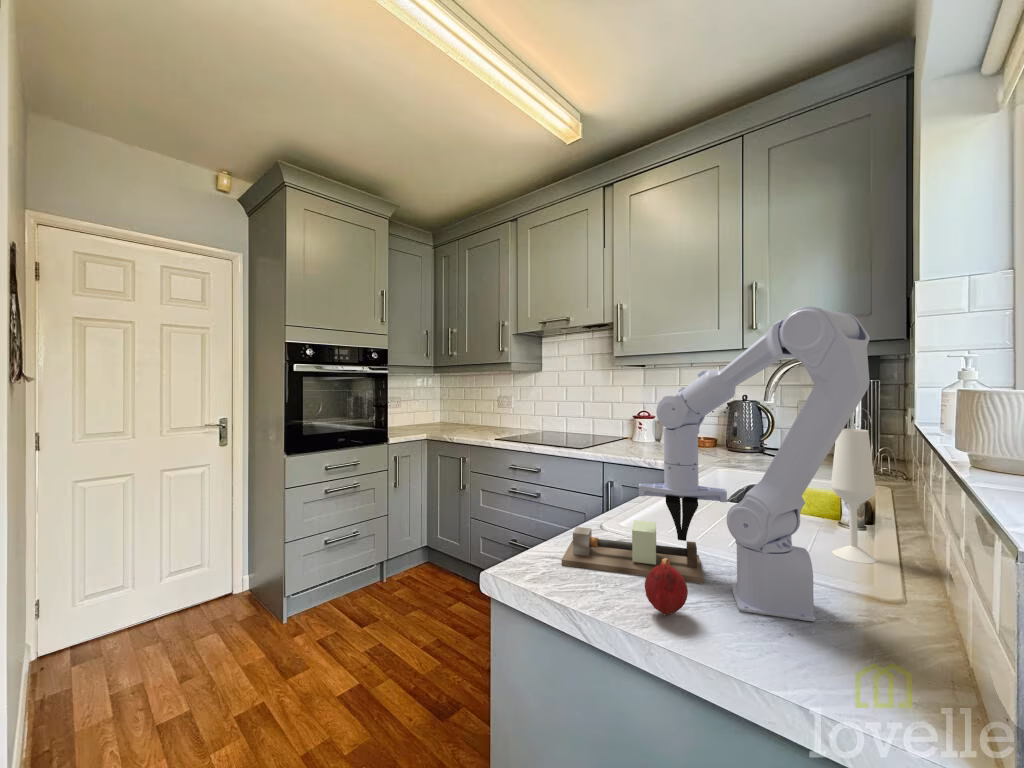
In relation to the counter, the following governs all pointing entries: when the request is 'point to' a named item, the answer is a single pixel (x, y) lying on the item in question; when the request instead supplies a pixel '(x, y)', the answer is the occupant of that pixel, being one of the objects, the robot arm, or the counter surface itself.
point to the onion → (666, 588)
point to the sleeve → (644, 542)
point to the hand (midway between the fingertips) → (681, 538)
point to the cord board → (628, 556)
